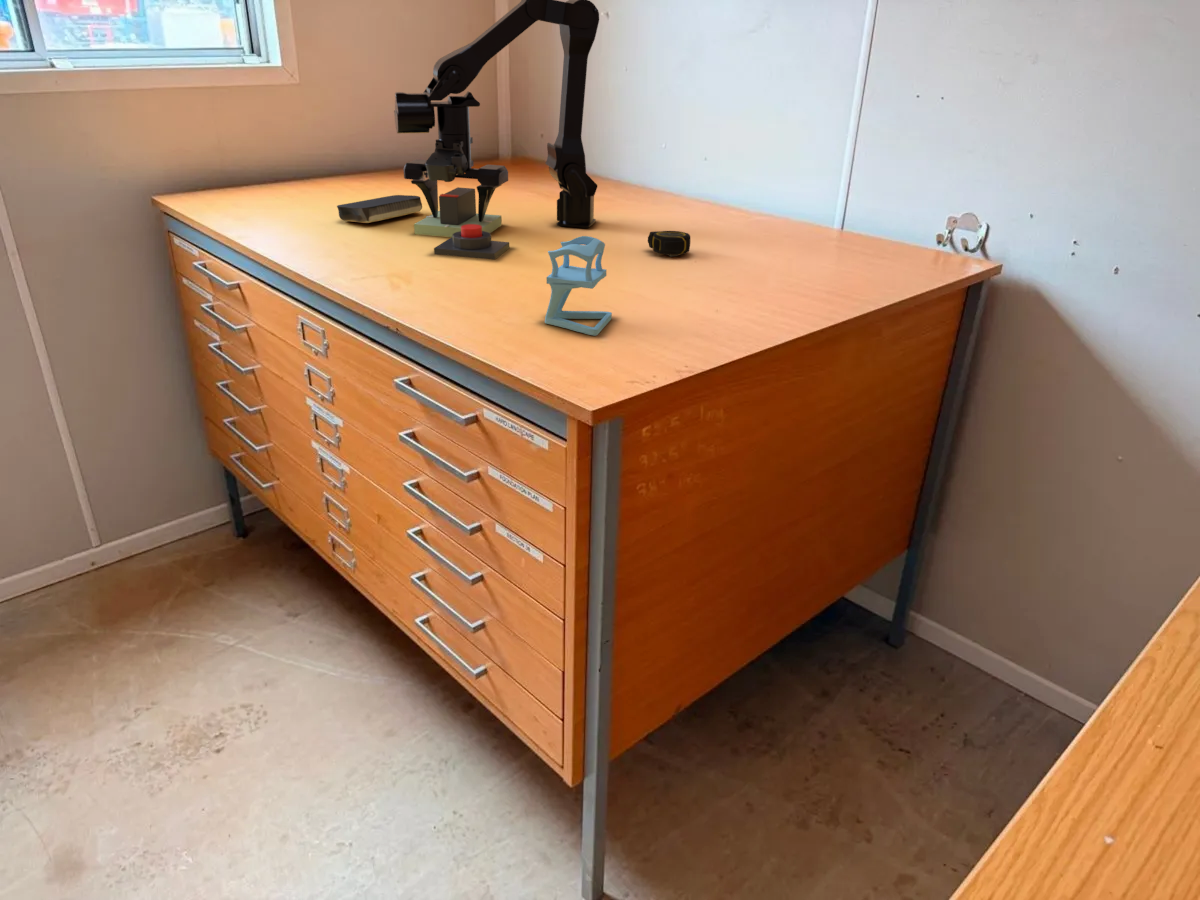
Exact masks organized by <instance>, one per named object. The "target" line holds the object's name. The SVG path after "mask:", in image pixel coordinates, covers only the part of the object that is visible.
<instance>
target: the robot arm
mask: <svg viewBox="0 0 1200 900" xmlns="http://www.w3.org/2000/svg"><path fill="white" fill-rule="evenodd" d="M538 21H540V22H545V23H550V24H553V25H554V24H555V25H559V37H560V40H561V45H562V50H563V61H562V63H563V64H562V76H561V78H562V79H561V90H560V91H561V93H560V105H559V122H558V133H557V136H556V139H555V140H554V143H551V142H547V143H546V149H547V157H546V161H545V165H546V166H547V167H548V172H549V174H550V176H551V177H552V178H553V179H554V180H555V181H556V182H557V184H558V187H559V189H561V191H559V195H558V197H559V198H557V199H556V220H557V222H556V227H557V226H558V227H568V228H569V227H570V228H580V229H581V228H582V229H588V228H590V227H592V225H594V224H595V223H596V221H597V219H596V218H594V216H595V213H594V211H595V195H596V193H597V189H598V184H597V183H596V182H595V181H594V179H593V178H592V177H590V176H589V175H588V173H587V164H586V155H585V149H584V145H583V140H582V133H583V131H582V130H583V118H584V106H585V95H586V84H587V70H588V59H589V54H590V52H591V49H592V47H593V44H594V42H595V40H596V35H597V32H598V28H599V23H600V11H599V9H598V8H597V6H596V5H595V4H594V3H593V2H592V1H591V0H566V1H561V0H520V1H519V3H518V4H516V5H515V6H514V7H512V8H511V9H510V10H509V11H508V12H506V13H505V14H504V15H503V16H501V18H499V19H498V20H497V21H496V22H494V23H493V24H492V25H491V26H489V27H488V28H487V29H485V30H484V32H482V33H481V34H480V35H478V37H476V38H475V39H474V40H473V41H471V42H470V43H467V44H466V45H464V46H461V47H459V48H457V49H455V50H453V51H451V52H450V53H448V54H446V55H444V56H442V57H440V58H439V59H437V61H436V62H435V64H434V65H433V70H432V76H433V77H432V78H431V80H430V81H429V83H428V85H427V86H426V87H425V89H424V91H423V92H422V93H421V92H420V93H416V92H415V93H413V92H412V93H409V92H408V93H407V92H402V91H395V93H394V110H393V117H394V125H395V131H396V134H429V133H430V129H433V128H435V126H436V120H437V136H438V138H437V139H435V144H434V145H435V146H434V147H435V148H434V151H433V152H432V153H431V154H430V155H429V156H428V158H427V159H421V158H419V159H418V158H417V159H416V158H415V159H413V160H411V161H408V162H406V163H405V164H404V166H403V179H405V180H410V183H411V184H412V185H415V186H417V188H419V189H420V190H421V192H422V195H423V196H424V198H425V201H426V202H427V205H428V207H429V210H430V212H431V215H433V217H434V218H436V217H437V216H438V211H439V191H438V186H439V185H438V181H442V182H445V183H450V182H453V181H454V180H455V179H456V178H458V179H469V180H477V182H478V183H479V185H477V186H476V190H477V193H478V207H477V208H478V209H477V214H478V217H479V222H482V221H483V219H484V216H485V214H487V211H488V207H489V205H490V202H491V199H492V197H493V195H494V193H495V192H496V189H497V188H499V187H501V186H502V185H503V184H505V183H508V182H509V171H508V169H507V167H506V166H505V165H499V164H485V165H483V166H481V167H479V168H472V167H474V166H475V165H474V160H473V159H472V151H471V149H472V148H471V144H473V143H474V141H473V140H474V139H473V137H471V127H470V126H471V125H470V124H471V123H470V108H472V107H473V108H474V107H477V108H478V107H480V106H481V102H480V101H478V100H477V99H476V98H475V97H474V95H473V94H472V92H471V91H469V90H468V91H467V92H466V93H465V94H464V95H458V94H461V93H463V92H465V91H466V90H467V89H468V87H469V86H470V85H471V84H472V83H473V81H474V80H475V79H476V78H477V77H478V75H479V74H480V72H481V71H482V69H483V68H484V67H485V65H486V64H487V63H488V62H489V61H490V60H491V59H493V58H494V57H495V56H496V55H498V53H500V52H501V51H503V50H504V49H505V48H506V47H507V46H508V45H509V44H511V43H512V42H513V41H514V40H516V38H518V37H519V36H521V34H523V33H524V32H525V31H527V30H528V29H529V28H530V27H531V26H532V25H534V24H535V23H536V22H538ZM451 94H453V95H451ZM445 98H447V100H446V101H443V100H444V99H445ZM435 108H436V114H435Z"/></svg>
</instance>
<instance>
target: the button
mask: <svg viewBox="0 0 1200 900" xmlns="http://www.w3.org/2000/svg"><path fill="white" fill-rule="evenodd" d="M461 237H466V238H477V237H482V226H480V225H476V224H467V225H463V226H461Z"/></svg>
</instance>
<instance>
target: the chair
mask: <svg viewBox="0 0 1200 900" xmlns="http://www.w3.org/2000/svg"><path fill="white" fill-rule="evenodd" d="M560 245H561V247H560V248H558V249H555V250H548V251H547V253H548V256H549V260H550V262H551V267H552V269H551V273H550V274H548V275H547V276H546V284H547V285H549V286H550V289H551V291H550V292H551V293H550V297H549V302H548V306H547V310H546V313H545V317H544V323H545V324H546V325H547V324H548V325H551V326H555V327H560V328H564V329H567V330H571V331H574V332H577V333H581V334H585V335H589V336H598V335H599V334H600V333H601V332H602V331H603V329H604V328H605V327H606V326H607V325H608V324H609V323H610V321H612V317H613V316H612V315H613V312H610V311H602V310H600V311H599V310H563V308H564V306H565V304H566V302H567V300H568V299H569V296H570V294H571V292H572V290H573V289H579V288H583V289H592V290H593V289H594V288H595V287H596V286H597V285H598V283H599V282H601V280H603V279H605V277H607V269H605V268H603V265H602V259H603V254H604V251H605V247H606V243H605V242H604V241H602V240H600V239H599V238H596V237H593V236H589V235H582V236H581V235H580V236H578V237H575V238H572V239H571V240H567V241H560ZM570 256H574V257H577V258H579V259H581V260H583V261H585V262H586V265H585V267H581V266H574V265H570ZM559 257H563V263H562V264H561V265H560V266H559V263H558V262H557V260H556V259H557V258H559ZM595 257H596V258H595ZM594 259H595V263H594V265H595V268H592V267H593V266H592V265H593V261H594ZM589 319H590V320H599V321H598V322H597V323H596V324H595V326H590V325H586V324H582V323H579V322H576V321H572V320H589Z"/></svg>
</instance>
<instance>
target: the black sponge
mask: <svg viewBox="0 0 1200 900" xmlns="http://www.w3.org/2000/svg"><path fill="white" fill-rule="evenodd" d="M336 208H337V209H338V210H337V212H338V217H339V219H340V220H341V221H346V222H351V223H352V222H355V223H363V224H369V223H374V222H379V221H384V220H389V219H393V218H398V217H403V216H406V215H407V216H408V215H410V214H415V213H419V212H421V211H422V209H423V203H422V200H421V197H420V196H417V195H412V194H411V195H405V194H393V195H387V196H383V197H376V198H370V199H364V200H359V201H354V202H348V203H343V204H338V205H336Z"/></svg>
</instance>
